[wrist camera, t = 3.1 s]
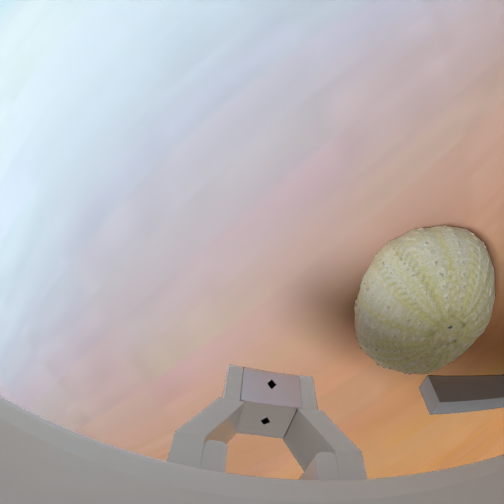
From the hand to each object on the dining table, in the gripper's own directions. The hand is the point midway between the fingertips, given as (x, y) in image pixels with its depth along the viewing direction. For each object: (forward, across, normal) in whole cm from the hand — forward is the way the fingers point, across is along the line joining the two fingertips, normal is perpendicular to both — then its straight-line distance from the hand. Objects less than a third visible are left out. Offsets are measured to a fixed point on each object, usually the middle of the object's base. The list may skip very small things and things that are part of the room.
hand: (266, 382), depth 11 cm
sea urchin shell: (+9, -10, -1) cm, 13 cm away
